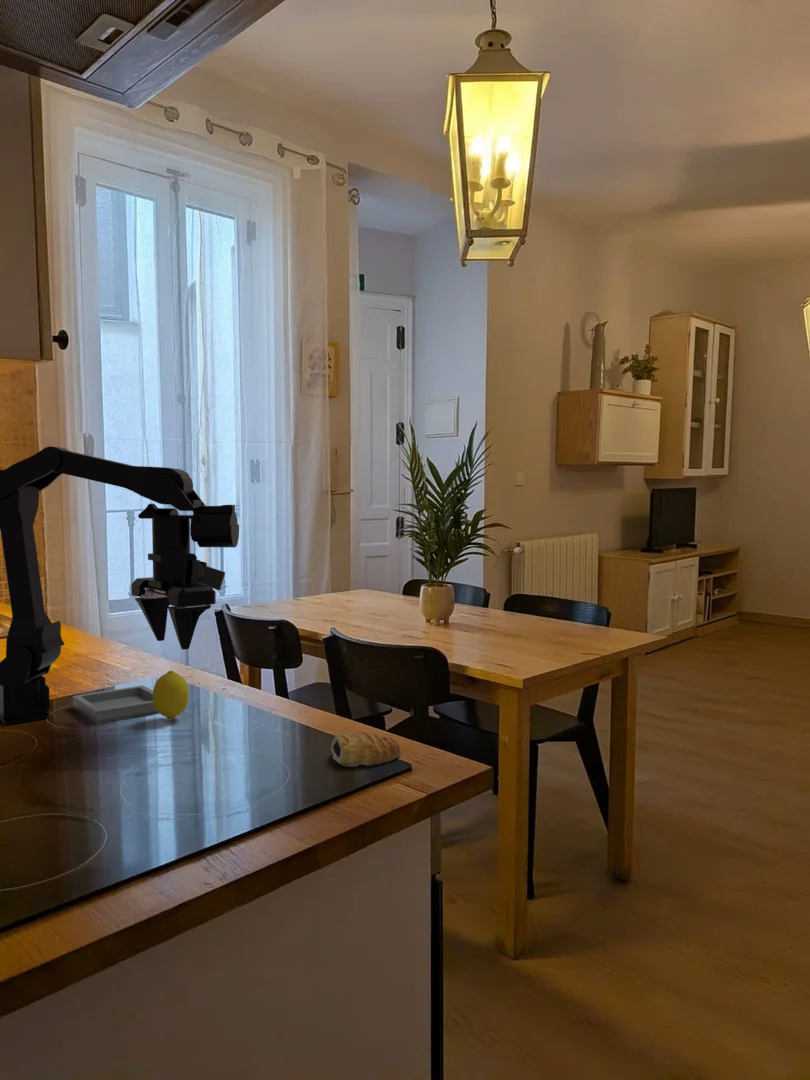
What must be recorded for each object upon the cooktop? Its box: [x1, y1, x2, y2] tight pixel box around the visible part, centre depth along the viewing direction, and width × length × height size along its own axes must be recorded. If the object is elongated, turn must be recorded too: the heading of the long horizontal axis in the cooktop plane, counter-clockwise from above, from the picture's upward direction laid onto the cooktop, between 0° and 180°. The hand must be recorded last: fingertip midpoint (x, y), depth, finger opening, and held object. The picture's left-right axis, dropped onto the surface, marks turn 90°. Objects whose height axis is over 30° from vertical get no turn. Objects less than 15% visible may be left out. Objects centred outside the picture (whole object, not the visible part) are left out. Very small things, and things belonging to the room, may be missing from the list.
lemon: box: [152, 670, 190, 721], centre depth 124 cm, size 6×6×8 cm
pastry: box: [330, 731, 401, 768], centre depth 107 cm, size 9×7×4 cm
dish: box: [72, 685, 159, 725], centre depth 130 cm, size 12×12×2 cm
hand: (172, 644), depth 124 cm, fingers open, 9 cm apart
